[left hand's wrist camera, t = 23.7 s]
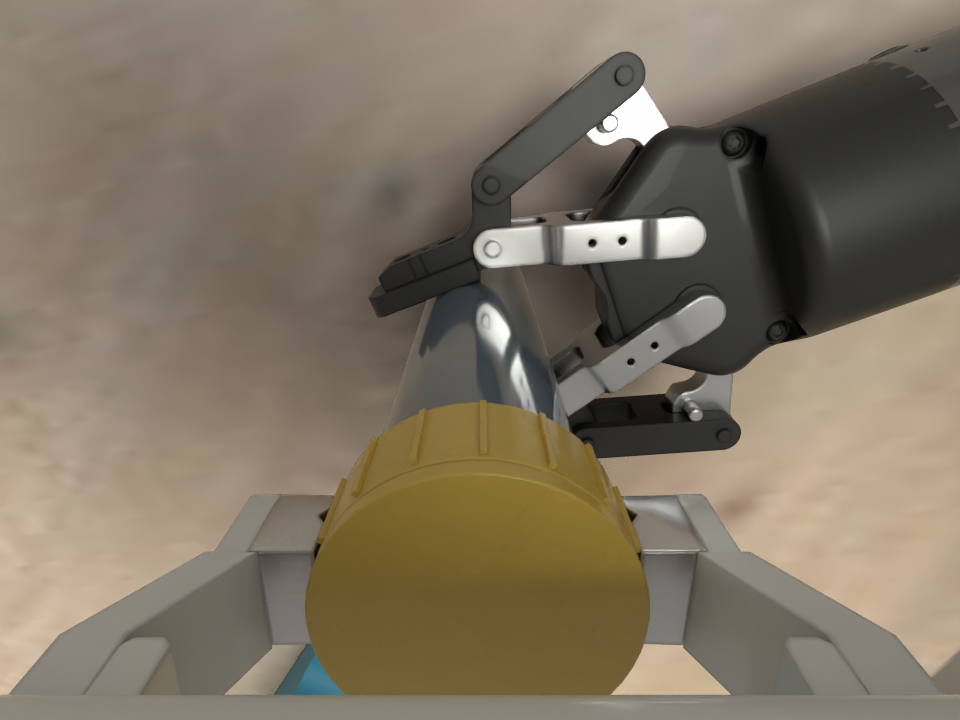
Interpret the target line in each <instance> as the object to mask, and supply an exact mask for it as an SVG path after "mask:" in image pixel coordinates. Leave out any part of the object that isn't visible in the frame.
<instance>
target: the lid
mask: <svg viewBox="0 0 960 720" xmlns="http://www.w3.org/2000/svg"><path fill="white" fill-rule="evenodd" d="M316 543H318V544H321V546H320V549H319V551H318V554H317V557H316V559H315V562H314V564H313V567H312V569H311V572H310V576H309V580H308V584H307V588H306V598H305V615H306V626H307V630H308V634H309V637H310V641H311V645H312V647H313V649H314V651H315V654H316V656H317V658H318V660H319V662H320V664H321V665H322V667H323V668H324V670H325V672H326V673H327V675H328V676H329V677H330V678H331V680H332V681H333V682H334V683H335V684H336V686H337V687H338V688H339V689H340V690H341V691H342V692H343V693H344V694H345V695H610V694H611V693H612V692H613V691H614V690H615V689H616V688H617V687H618V686H619V685H620V684H621V683H622V682H623V680H624V679H625V678H626V676H627V675H628V673H629V672H630V671H631V669H632V668H633V666H634V664H635V662H636V660H637V658H638V656H639V655H640V653H641V650H642V647H643V644H644V641H645V638H646V636H647V630H648V624H649V619H650V595H649V589H648V583H647V579H646V576H645V573H644V570H643V567H642V564H641V562H640V559H639V556H638V554H637V553H639V552H641V549H642V548H641V545H640V543H639V540H638V538H637V535H636V533H635V530H634V528H633V525H632V523H631V520H630V517H629V515H628V512H627V510H626V507H625V505H624V502H623V500H622V497H621V495H620V492H619V489H618V487H617V486H615V487H612V485H611V482H610V480H609V478H608V476H607V474H606V472H605V470H604V468H603V466H602V465H601V463H600V462H599V461H598V459H597V458H596V456H595V453H594V450H593V447H592V446H591V445H590V444H589V443H587V444H586V445H585V444H584V443H583V442H582V441H581V440H580V439H579V438H577V437H576V436H575V435H573V434H572V433H571V432H570V431H568V430H567V429H566V428H564V427H562V426H561V425H559V424H557V423H555V422H554V421H552V420H550V419H548V418H546V414H544V413H542V412H539V414H536V413H534V412H531V411H528V410H524V409H521V408H517V407H514V406H508V405H502V404H495V403H486V400H480V403H462V404H452V405H448V406H443V407H438V408H434V409H431V410H428V411H426V409H422V410H419V414H417V415H414V416H412V417H410V418H408V419H406V420H404V421H402V422H400V423H398V424H397V425H395V426H394V427H392V428H391V429H389V430H388V431H386V432H385V433H383V434H382V435H381V436H380V437H379V438H376V437H375V436H374V437H373V438H372V439H371V440H370V442H369V445H368V447H367V449H366V450H365V452H364V453H363V454H362V455H361V456H360V457H359V459H358V460H357V462H356V463H355V465H354V467H353V468H352V470H351V471H350V473H349V476H348V478H347V480H346V479H343V478H342V479H341V482H340V484H339V487H338V489H337V491H336V494H335V496H334V499H333V501H332V504H331V506H330V509H329V511H328V514H327V516H326V519H325V521H324V524H323V526H322V529H321V531H320V534H319V536H318V539H317V541H316Z"/></svg>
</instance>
